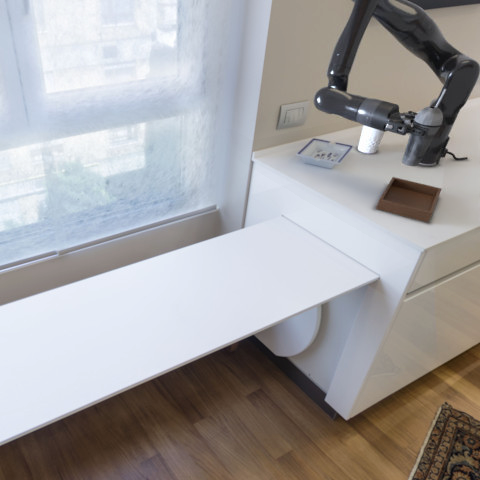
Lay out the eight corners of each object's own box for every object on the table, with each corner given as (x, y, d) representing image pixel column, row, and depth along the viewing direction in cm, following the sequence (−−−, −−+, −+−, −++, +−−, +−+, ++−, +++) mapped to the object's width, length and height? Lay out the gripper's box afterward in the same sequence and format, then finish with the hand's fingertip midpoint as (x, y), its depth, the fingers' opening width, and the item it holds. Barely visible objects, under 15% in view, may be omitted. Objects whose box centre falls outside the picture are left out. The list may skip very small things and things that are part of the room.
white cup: (355, 152, 164) (364, 124, 157) (356, 144, 169) (365, 117, 162) (377, 155, 162) (387, 127, 155) (378, 148, 167) (387, 120, 160)
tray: (389, 185, 144) (392, 176, 142) (437, 197, 138) (441, 188, 136) (375, 208, 132) (379, 199, 130) (427, 222, 126) (432, 213, 124)
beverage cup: (392, 157, 131) (421, 85, 118) (415, 157, 132) (446, 84, 118) (404, 168, 126) (435, 93, 112) (428, 167, 127) (462, 93, 113)
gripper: (369, 105, 124) (427, 122, 115) (393, 96, 131) (450, 110, 122) (360, 132, 129) (415, 150, 120) (384, 122, 136) (437, 137, 127)
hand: (432, 130), depth 121 cm, fingers closed on beverage cup, 7 cm apart
